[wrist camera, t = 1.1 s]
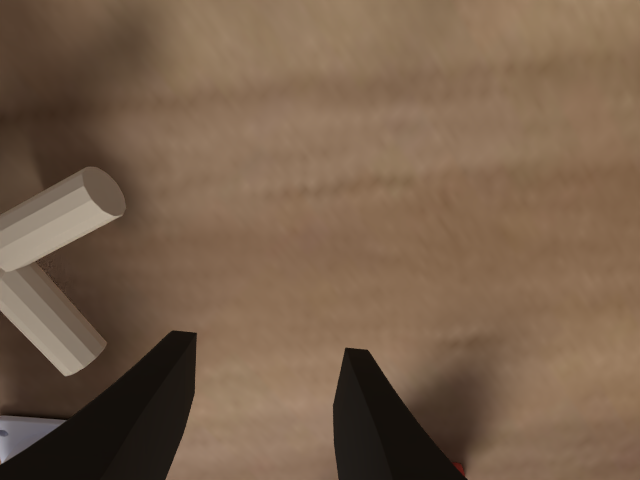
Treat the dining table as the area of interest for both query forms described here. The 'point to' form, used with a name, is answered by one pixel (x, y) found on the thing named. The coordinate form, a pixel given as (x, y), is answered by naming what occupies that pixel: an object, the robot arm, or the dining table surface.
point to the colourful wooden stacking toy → (459, 467)
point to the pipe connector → (40, 240)
